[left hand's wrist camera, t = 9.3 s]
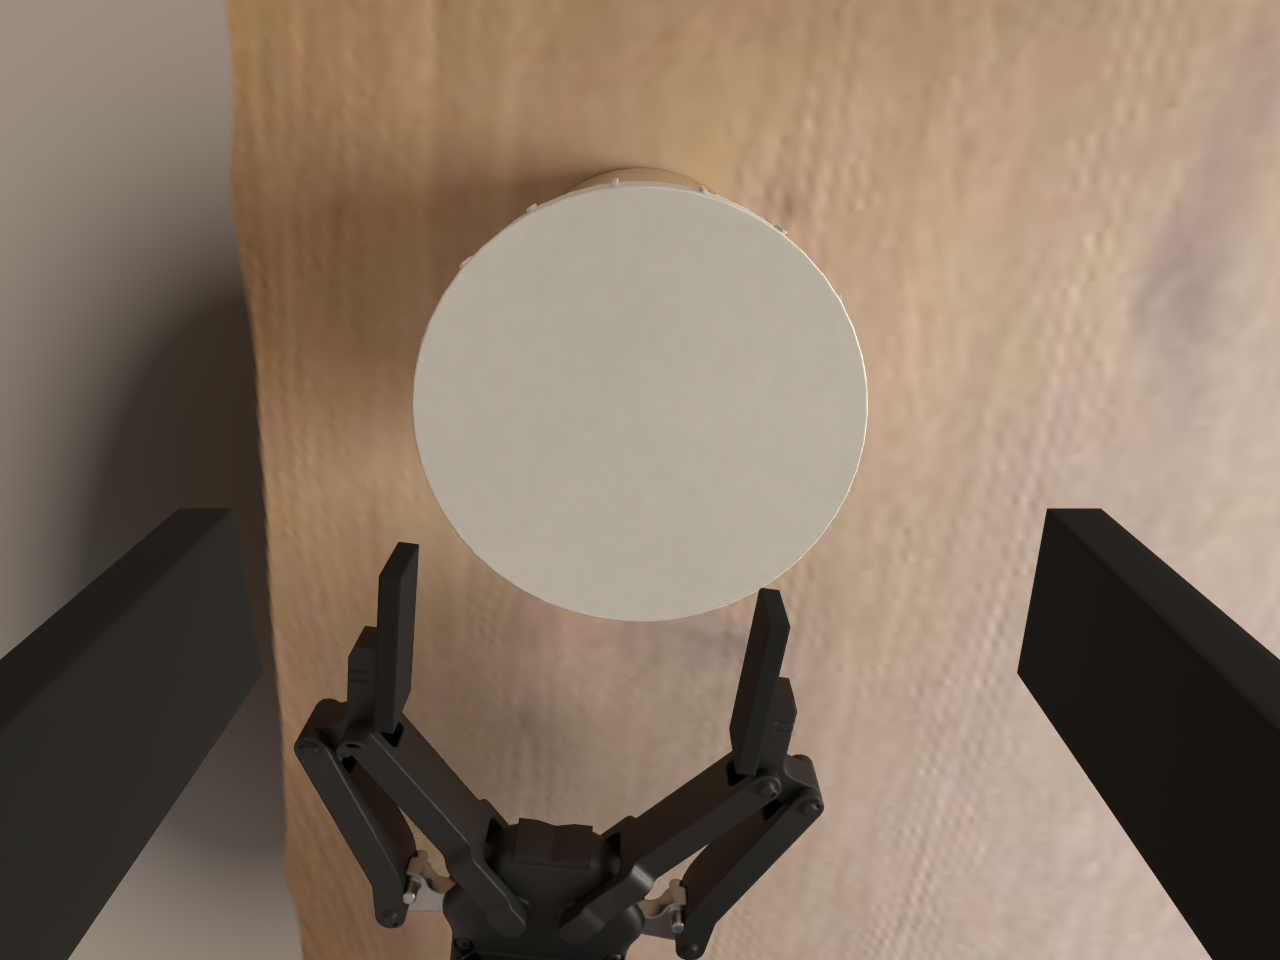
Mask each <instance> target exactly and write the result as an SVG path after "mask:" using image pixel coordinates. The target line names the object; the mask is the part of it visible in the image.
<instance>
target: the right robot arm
mask: <svg viewBox="0 0 1280 960" xmlns="http://www.w3.org/2000/svg"><path fill="white" fill-rule="evenodd" d="M418 552H419V544H411V543H404V542H398V544H397V546H396V547H395V549H394V551H393V553H392V554H391V556H390V558H389V560H388V561H387V563H386V565H385V567H384V568H383V570H382V572H381V574H380V575H379V590H378V615H377V627H370V626H365V627H364V629H363V631H362V633H361V634H360V636H359V638H358V640H357V642H356V644H355V646H354V647H353V649H352V651H351V653H350V655H349V657H348V689H347V701H346V702H342V703H340V702H338V701H337V700H334V699H330V698H329V699H323V700H321V701H319V702H318V704H317V705H316V706H315V708H314V710H313V712H312V714H311V715H310V717H309V719H308V721H307V723H306V724H305V726H304V728H303V730H302V732H301V733H300V735H299V737H298V739H297V741H296V743H295V745H294V751H295V754H296V756H297V757H298V759H299V761H300V763H301V764H302V766H303V768H304V770H305V771H306V773H307V775H308V776H309V778H310V780H311V782H312V783H313V785H314V787H315V788H316V790H317V792H318V794H319V795H320V797H321V799H322V801H323V802H324V804H325V806H326V807H327V809H328V811H329V813H330V814H331V816H332V818H333V819H334V821H335V823H336V825H337V826H338V828H339V830H340V832H341V833H342V835H343V837H344V838H345V840H346V842H347V844H348V845H349V847H350V849H351V850H352V852H353V854H354V856H355V857H356V859H357V861H358V863H359V864H360V866H361V868H362V869H363V871H364V873H365V875H366V876H367V878H368V880H369V881H370V883H371V885H372V889H373V898H374V907H375V917H376V920H377V922H378V923H379V924H380V925H382V926H384V927H386V928H397V927H399V926H401V925H402V924H403V923H404V921H405V918H406V914H407V911H428V912H443V913H444V916H445V918H446V919H447V921H448V922H449V924H450V926H451V929H452V945H451V956H450V960H625V958H626V953H627V950H628V948H629V947H630V945H631V944H632V943H633V942H634V941H635V940H636V939H637V938H638V937H639V936H640V934H646V935H651V936H656V937H661V938H666V939H671V940H675V943H676V953H677V955H678V956H679V957H680V958H682V959H685V960H695V959H698V958H700V957H701V956H702V955H703V953H704V951H705V949H706V946H707V944H708V941H709V939H710V936H711V934H712V931H713V928H714V926H715V924H716V922H717V921H718V920H719V919H720V918H721V917H722V916H723V915H724V914H725V913H726V912H727V911H728V910H729V909H730V908H731V907H732V906H733V905H734V904H735V903H736V902H737V901H738V900H739V899H740V898H741V897H742V896H743V895H744V894H745V892H746V891H747V890H748V889H749V888H750V887H751V886H752V885H753V884H754V883H755V882H756V881H757V880H758V879H759V878H760V877H761V876H762V875H763V874H764V873H765V872H766V871H767V870H768V869H769V868H770V867H771V866H772V865H773V864H774V862H775V861H776V860H777V859H778V858H779V857H780V856H781V855H782V854H783V853H784V852H785V851H786V850H787V849H788V848H789V847H790V846H791V845H792V844H793V843H794V842H795V841H796V840H797V839H798V838H799V837H800V836H801V835H802V834H803V832H804V831H805V830H806V829H807V828H808V827H809V826H810V825H811V824H812V823H813V822H814V821H815V820H816V819H817V818H818V817H819V816H820V815H821V813H822V812H823V810H824V804H823V800H822V796H821V792H820V789H819V785H818V781H817V777H816V774H815V770H814V766H813V763H812V761H811V759H810V758H809V757H807V756H805V755H794V756H790V755H788V754H787V750H788V746H789V742H790V738H791V732H792V730H793V726H794V722H795V718H796V714H797V709H796V704H795V700H794V696H793V692H792V688H791V685H790V681H789V678H783V677H779V673H780V669H781V665H782V660H783V656H784V652H785V648H786V643H787V639H788V635H789V631H790V625H789V622H788V618H787V615H786V611H785V608H784V605H783V601H782V598H781V594H780V591H779V590H774V589H766V588H760V589H759V594H758V598H757V603H756V608H755V612H754V617H753V621H752V626H751V631H750V635H749V640H748V644H747V649H746V654H745V658H744V663H743V668H742V672H741V677H740V681H739V686H738V691H737V695H736V700H735V704H734V709H733V714H732V718H731V723H730V728H729V730H730V737H731V744H732V750H733V751H731V752H730V753H729V754H727V755H726V756H724V757H723V758H721V759H720V760H719V761H717V762H716V763H714V764H713V765H711V766H710V767H709V768H707V769H706V770H704V771H703V772H702V773H700V774H699V775H697V776H696V777H694V778H693V779H692V780H690V781H689V782H687V783H686V784H684V785H683V786H682V787H680V788H679V789H677V790H676V791H674V792H673V793H672V794H670V795H669V796H667V797H666V798H665V799H663V800H662V801H660V802H659V803H657V804H656V805H655V806H653V807H652V808H650V809H649V810H647V811H646V812H645V813H643V814H642V815H640V816H639V817H637V818H634V817H633V816H628V817H626V818H624V819H623V820H621V821H620V822H618V823H617V824H616V825H614V826H613V827H611V828H610V829H609V830H607V831H606V832H604V833H603V834H601V835H598V834H596V833H594V832H592V829H593V826H587V825H578V824H571V825H561V826H554V825H551V824H548V823H545V822H542V821H539V820H533V819H524V818H519V823H518V824H513V825H509V824H508V823H507V822H506V821H505V820H504V819H503V817H502V816H501V815H500V814H499V813H498V812H497V811H496V809H495V808H494V807H493V806H492V805H491V804H490V802H489V801H487V800H486V799H482V800H478V799H477V798H476V797H475V796H474V795H473V793H472V792H471V791H470V790H469V789H468V788H467V787H466V785H465V784H464V783H463V782H462V781H461V780H460V778H459V777H458V776H457V775H456V774H455V773H454V772H453V770H452V769H451V768H450V767H449V766H448V765H447V764H446V762H445V761H444V760H443V759H442V758H441V757H440V756H439V754H438V753H437V752H436V751H435V750H434V749H433V748H432V746H431V745H430V744H429V743H428V742H427V741H426V739H425V738H424V737H423V736H422V735H421V734H420V733H419V731H418V730H417V729H416V728H415V727H414V726H413V725H412V723H411V722H410V721H409V720H408V719H407V718H406V717H405V715H404V714H403V713H402V711H403V708H404V706H405V703H406V701H407V698H408V696H409V693H410V691H411V674H412V657H413V639H414V622H415V604H416V587H417V569H418ZM398 806H399V807H400V808H401V809H402V811H403V812H404V813H405V814H406V815H407V816H408V817H409V818H410V819H411V820H412V821H413V823H414V824H415V825H416V826H417V827H418V828H419V829H420V830H421V831H422V832H423V833H424V835H425V836H426V837H427V838H428V839H429V840H430V841H431V842H432V843H433V844H434V845H435V847H436V848H437V849H438V850H439V851H440V852H441V853H442V854H443V856H444V858H445V863H446V868H447V870H448V872H449V874H450V876H449V877H442V876H440V875H438V874H436V873H435V872H434V871H433V869H432V867H431V865H430V863H429V862H428V861H427V859H428V854H427V852H425V851H423V850H418V851H416V844H415V840H414V837H413V834H412V832H411V830H410V828H409V826H408V824H407V822H406V820H405V818H404V816H403V815H402V813H401V811H400V809H399V807H398ZM707 844H708V846H707V847H706V848H705V849H704V850H703V851H702V852H701V853H700V854H699V855H698V856H697V857H696V859H695V860H694V861H693V862H692V863H691V865H690V866H689V868H688V869H687V871H686V872H685V874H684V876H683V879H682V881H681V880H679V879H673V880H671V881H670V883H669V888H668V889H667V890H666V891H665V892H664V893H663V894H662V896H660V897H659V898H657V899H653V900H646V899H644V897H645V896H646V895H647V894H648V893H649V892H650V890H651V888H652V886H653V884H654V882H655V880H656V879H657V878H658V877H660V876H661V875H663V874H664V873H666V872H667V871H669V870H670V869H672V868H673V867H675V866H676V865H678V864H679V863H681V862H682V861H684V860H685V859H687V858H688V857H689V856H691V855H692V854H694V853H695V852H697V851H698V850H700V849H701V848H703V847H704V846H706V845H707Z"/></svg>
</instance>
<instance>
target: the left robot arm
mask: <svg viewBox="0 0 1280 960" xmlns="http://www.w3.org/2000/svg"><path fill="white" fill-rule="evenodd" d="M262 673H263V671H262V665H261V660H260V655H259V649H258V644H257V638H256V633H255V627H254V622H253V616H252V611H251V605H250V600H249V594H248V589H247V584H246V578H245V573H244V567H243V561H242V556H241V550H240V545H239V540H238V534H237V528H236V523H235V518H234V512H233V509H178V510H177V511H176V512H174V513H173V514H172V515H171V516H170V517H169V518H167V519H166V520H165V521H164V522H163V523H162V524H160V525H159V526H158V527H157V528H156V529H154V530H153V531H152V532H151V533H150V534H148V535H147V536H146V537H145V538H144V539H143V540H141V541H140V542H139V543H138V544H137V545H135V546H134V547H133V548H132V549H131V550H130V551H128V552H127V553H126V554H125V555H124V556H122V557H121V558H120V559H119V560H118V561H117V562H115V563H114V564H113V565H112V566H111V567H109V568H108V569H107V570H106V571H105V572H103V573H102V574H101V575H100V576H99V577H98V578H96V579H95V580H94V581H93V582H92V583H91V584H89V585H88V586H87V587H86V588H85V589H83V590H82V591H81V592H80V593H79V594H78V595H76V596H75V597H74V598H73V599H72V600H70V601H69V602H68V603H67V604H66V605H64V606H63V607H62V608H61V609H60V610H59V611H57V612H56V613H55V614H54V615H53V616H51V617H50V618H49V619H48V620H47V621H46V622H44V623H43V624H42V625H41V626H40V627H38V628H37V629H36V630H35V631H34V632H33V633H31V634H30V635H29V636H28V637H27V638H25V639H24V640H23V641H22V642H21V643H20V644H18V645H17V646H16V647H15V648H14V649H12V650H11V651H10V652H9V653H8V654H7V655H5V656H4V657H3V658H2V659H1V660H0V960H68V958H69V957H70V955H71V954H72V952H73V951H74V949H75V948H76V946H77V945H78V944H79V942H80V941H81V939H82V938H83V936H84V935H85V933H86V932H87V930H88V929H89V927H90V926H91V925H92V923H93V922H94V920H95V919H96V917H97V916H98V914H99V913H100V911H101V910H102V908H103V907H104V905H105V904H106V902H107V901H108V899H109V898H110V897H111V895H112V894H113V892H114V891H115V889H116V888H117V886H118V885H119V883H120V882H121V880H122V879H123V877H124V876H125V875H126V873H127V872H128V870H129V869H130V867H131V866H132V864H133V863H134V861H135V860H136V858H137V857H138V855H139V854H140V853H141V851H142V850H143V848H144V847H145V845H146V844H147V842H148V841H149V839H150V838H151V836H152V835H153V833H154V832H155V831H156V829H157V828H158V826H159V825H160V823H161V822H162V820H163V819H164V817H165V816H166V814H167V813H168V811H169V810H170V809H171V807H172V805H173V804H174V803H175V801H176V800H177V798H178V797H179V795H180V794H181V792H182V791H183V789H184V788H185V786H186V785H187V784H188V782H189V780H190V779H191V778H192V776H193V775H194V773H195V772H196V770H197V769H198V767H199V766H200V764H201V763H202V762H203V760H204V759H205V757H206V756H207V754H208V753H209V751H210V750H211V748H212V747H213V745H214V744H215V742H216V741H217V739H218V738H219V736H220V735H221V734H222V732H223V731H224V729H225V728H226V726H227V725H228V723H229V722H230V720H231V719H232V717H233V716H234V714H235V713H236V712H237V710H238V709H239V707H240V706H241V704H242V703H243V701H244V700H245V698H246V697H247V695H248V694H249V692H250V691H251V690H252V688H253V687H254V685H255V684H256V682H257V681H258V679H259V678H260V676H261V675H262ZM1017 673H1018V675H1019V676H1020V678H1021V679H1022V681H1023V682H1024V684H1025V685H1026V687H1027V688H1028V690H1029V691H1030V692H1031V694H1032V695H1033V697H1034V698H1035V700H1036V701H1037V703H1038V704H1039V706H1040V707H1041V709H1042V710H1043V712H1044V713H1045V715H1046V716H1047V717H1048V719H1049V720H1050V722H1051V723H1052V725H1053V726H1054V728H1055V729H1056V731H1057V732H1058V734H1059V735H1060V737H1061V738H1062V739H1063V741H1064V742H1065V744H1066V745H1067V747H1068V748H1069V750H1070V751H1071V753H1072V754H1073V756H1074V757H1075V759H1076V760H1077V762H1078V763H1079V764H1080V766H1081V767H1082V769H1083V770H1084V772H1085V773H1086V775H1087V776H1088V778H1089V779H1090V781H1091V782H1092V784H1093V785H1094V786H1095V788H1096V789H1097V791H1098V792H1099V794H1100V795H1101V797H1102V798H1103V800H1104V801H1105V803H1106V804H1107V806H1108V807H1109V809H1110V810H1111V811H1112V813H1113V814H1114V816H1115V817H1116V819H1117V820H1118V822H1119V823H1120V825H1121V826H1122V828H1123V829H1124V831H1125V832H1126V833H1127V835H1128V836H1129V838H1130V839H1131V841H1132V842H1133V844H1134V845H1135V847H1136V848H1137V850H1138V851H1139V853H1140V854H1141V856H1142V857H1143V858H1144V860H1145V861H1146V863H1147V864H1148V866H1149V867H1150V869H1151V870H1152V872H1153V873H1154V875H1155V876H1156V878H1157V879H1158V880H1159V882H1160V883H1161V885H1162V886H1163V888H1164V889H1165V891H1166V892H1167V894H1168V895H1169V897H1170V898H1171V900H1172V901H1173V903H1174V904H1175V905H1176V907H1177V908H1178V910H1179V911H1180V913H1181V914H1182V916H1183V917H1184V919H1185V920H1186V922H1187V923H1188V925H1189V926H1190V927H1191V929H1192V930H1193V932H1194V933H1195V935H1196V936H1197V938H1198V939H1199V941H1200V942H1201V944H1202V945H1203V947H1204V948H1205V950H1206V951H1207V952H1208V954H1209V955H1210V957H1211V958H1212V960H1280V660H1279V659H1278V658H1277V657H1276V656H1275V655H1273V654H1272V653H1271V652H1270V651H1269V650H1268V649H1266V648H1265V647H1264V646H1263V645H1262V644H1260V643H1259V642H1258V641H1257V640H1256V639H1255V638H1253V637H1252V636H1251V635H1250V634H1249V633H1247V632H1246V631H1245V630H1244V629H1243V628H1242V627H1240V626H1239V625H1238V624H1237V623H1236V622H1234V621H1233V620H1232V619H1231V618H1230V617H1229V616H1227V615H1226V614H1225V613H1224V612H1223V611H1221V610H1220V609H1219V608H1218V607H1217V606H1216V605H1214V604H1213V603H1212V602H1211V601H1210V600H1208V599H1207V598H1206V597H1205V596H1204V595H1203V594H1201V593H1200V592H1199V591H1198V590H1197V589H1195V588H1194V587H1193V586H1192V585H1191V584H1190V583H1188V582H1187V581H1186V580H1185V579H1184V578H1182V577H1181V576H1180V575H1179V574H1178V573H1176V572H1175V571H1174V570H1173V569H1172V568H1171V567H1169V566H1168V565H1167V564H1166V563H1165V562H1163V561H1162V560H1161V559H1160V558H1159V557H1158V556H1156V555H1155V554H1154V553H1153V552H1152V551H1150V550H1149V549H1148V548H1147V547H1146V546H1145V545H1143V544H1142V543H1141V542H1140V541H1139V540H1137V539H1136V538H1135V537H1134V536H1133V535H1132V534H1130V533H1129V532H1128V531H1127V530H1126V529H1124V528H1123V527H1122V526H1121V525H1120V524H1119V523H1117V522H1116V521H1115V520H1114V519H1113V518H1111V517H1110V516H1109V515H1108V514H1107V513H1106V512H1104V511H1103V510H1102V509H1047V512H1046V518H1045V523H1044V528H1043V534H1042V539H1041V545H1040V550H1039V556H1038V561H1037V567H1036V572H1035V578H1034V583H1033V589H1032V594H1031V600H1030V605H1029V611H1028V616H1027V622H1026V627H1025V633H1024V638H1023V644H1022V649H1021V655H1020V660H1019V665H1018V671H1017Z"/></svg>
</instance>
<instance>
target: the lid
mask: <svg viewBox="0 0 1280 960" xmlns="http://www.w3.org/2000/svg"><path fill="white" fill-rule="evenodd" d="M526 212H527V213H526V214H524V215H522V216H521V217H519V218H517V219H516V220H514V221H513V222H512V223H511V224H509V225H508V226H507V227H506V228H504V229H503V230H502V231H501V232H499V233H498V234H497V235H496V236H494V237H493V238H492V239H491V240H489V241H488V242H487V243H486V244H484V245H483V246H482V247H481V248H480V249H479V250H478V251H477V252H476V253H475V254H474V255H473V256H472V257H471V256H470V257H469V258H467V259H466V260H465V261H464V262H463V263H461V264H460V266H459V268H460V271H459V272H458V273H457V275H456V276H455V278H454V279H453V280H452V282H451V283H450V285H449V286H448V288H447V289H446V290H445V292H444V293H443V295H442V297H441V299H440V301H439V303H438V304H437V306H436V308H435V310H434V312H433V314H432V316H431V318H430V320H429V322H428V325H427V328H426V331H425V334H424V336H423V337H422V338H421V341H420V342H421V345H420V348H419V353H418V358H417V363H416V368H415V373H414V379H413V397H412V413H413V425H414V436H415V440H416V445H417V449H418V454H419V458H420V463H421V465H422V468H423V471H424V474H425V476H426V479H427V482H428V485H429V487H430V489H431V491H432V493H433V495H434V497H435V499H436V501H437V503H438V505H439V507H440V509H441V511H442V513H443V514H444V515H445V517H446V518H447V520H448V521H449V523H450V524H451V526H452V527H453V528H454V530H455V531H456V533H457V534H458V536H459V537H460V538H461V539H462V540H463V541H464V542H465V543H466V544H467V546H468V547H469V548H470V549H471V550H472V551H473V552H474V553H475V554H476V556H477V557H479V558H480V559H481V560H482V561H483V562H484V563H486V564H487V565H488V566H489V567H490V568H491V569H492V570H494V571H495V572H496V573H497V574H498V575H500V576H501V577H503V578H504V579H506V580H507V581H509V582H510V583H512V584H513V585H515V586H516V587H518V588H519V589H521V590H523V591H525V592H527V593H529V594H530V595H532V596H534V597H536V598H538V599H540V600H542V601H544V602H547V603H549V604H552V605H555V606H557V607H560V608H563V609H565V610H568V611H571V612H575V613H579V614H583V615H587V616H591V617H595V618H603V619H610V620H618V621H648V622H650V621H660V620H670V619H679V618H683V617H688V616H692V615H697V614H702V613H705V612H708V611H711V610H714V609H717V608H720V607H723V606H726V605H729V604H731V603H733V602H735V601H737V600H739V599H741V598H744V597H746V596H748V595H750V594H752V593H754V592H756V591H757V590H759V589H760V588H762V587H764V586H765V585H767V584H768V583H770V582H771V581H773V580H775V579H776V578H778V577H779V576H780V575H781V574H782V573H784V572H785V571H786V570H787V569H789V568H790V567H791V566H792V565H794V564H795V563H796V562H797V561H798V560H799V559H800V558H801V557H802V556H803V555H804V554H805V553H806V552H807V551H808V550H809V549H810V548H811V547H812V546H813V545H814V544H815V543H816V542H817V540H818V539H819V538H820V536H821V535H822V534H823V532H824V531H825V530H826V528H827V527H828V526H829V524H830V523H831V522H832V520H833V519H834V517H835V515H836V514H837V512H838V510H839V508H840V506H841V505H842V503H843V501H844V499H845V498H846V496H847V494H848V491H849V489H850V486H851V484H852V481H853V479H854V476H855V474H856V471H857V469H858V465H859V461H860V457H861V453H862V450H863V446H864V442H865V433H866V424H867V416H868V401H867V381H866V373H865V368H864V362H863V356H862V353H861V350H860V346H859V343H858V340H857V337H856V333H855V330H854V327H853V325H852V323H851V321H850V319H849V317H848V315H847V312H846V310H845V308H844V306H843V304H842V302H841V299H842V297H841V296H840V294H838V293H837V292H836V291H835V290H834V289H833V288H832V286H831V285H830V283H829V282H828V280H827V279H826V277H825V276H824V274H823V273H822V272H821V271H820V270H819V269H818V268H817V266H816V265H815V264H814V263H813V262H812V261H811V260H810V258H809V257H808V256H807V255H806V254H805V253H804V252H803V251H802V250H801V249H800V248H799V247H797V246H796V245H795V244H794V243H793V242H792V241H790V240H789V239H788V238H787V237H786V236H785V234H786V233H787V232H786V231H785V230H784V229H783V228H781V227H780V226H779V225H777V224H775V226H772V225H771V224H770V223H768V222H767V221H765V220H764V219H762V218H761V217H759V216H757V215H756V214H754V213H753V212H751V211H750V210H748V209H747V208H745V207H743V206H741V205H738V204H736V203H734V202H732V201H730V200H728V199H725V198H723V197H721V196H719V195H716V194H713V193H709V192H708V190H707V189H706V188H705V187H704V186H701V185H700V186H699V189H696V188H693V187H690V186H684V185H677V184H671V183H665V182H651V181H625V182H619V181H618V178H615V179H613V181H612V183H609V184H601V185H596V186H592V187H588V188H584V189H581V190H577V191H573V192H569V193H567V194H564V195H562V196H560V197H557V198H555V199H552V200H550V201H548V202H545V203H543V204H541V205H539V206H537V205H536V203H535V204H533V205H531V206H530V207H529V208H527V209H526Z"/></svg>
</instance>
